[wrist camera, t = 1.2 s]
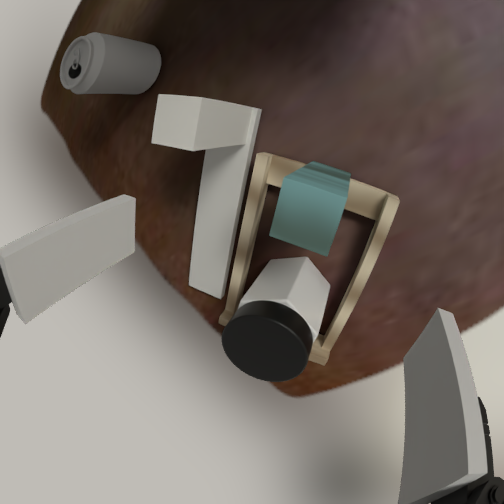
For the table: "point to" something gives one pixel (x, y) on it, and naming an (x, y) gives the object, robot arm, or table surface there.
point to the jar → (277, 320)
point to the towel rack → (310, 226)
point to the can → (109, 65)
